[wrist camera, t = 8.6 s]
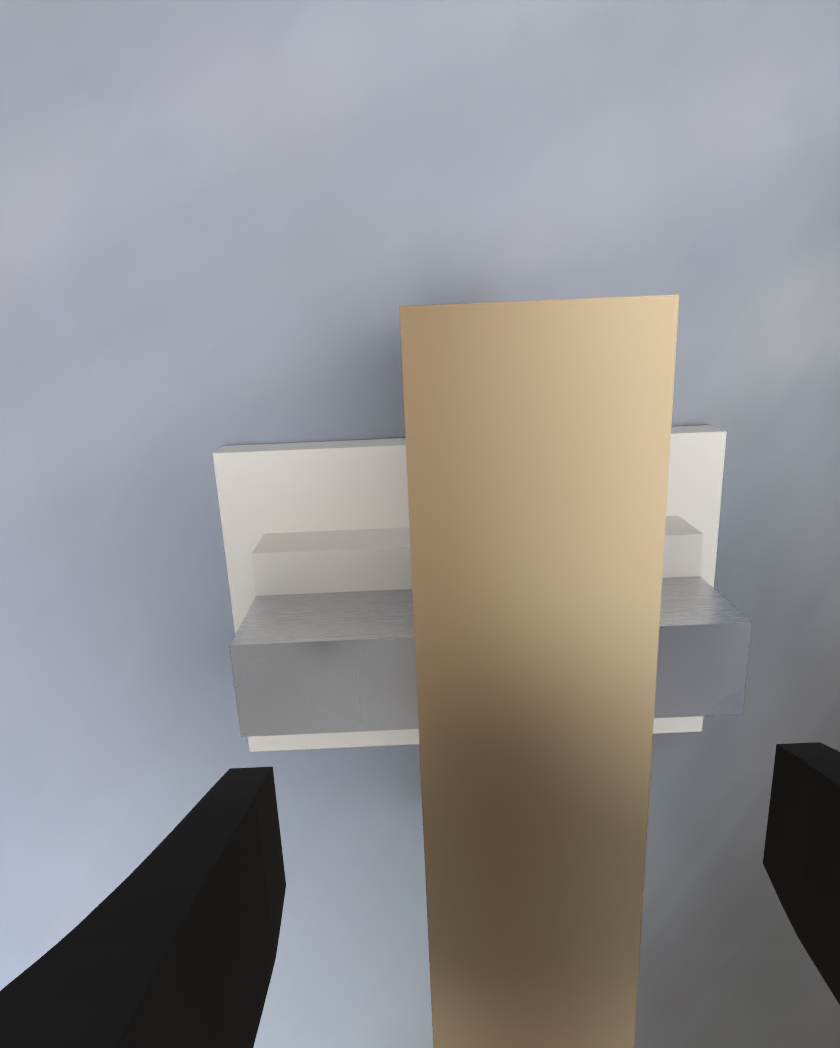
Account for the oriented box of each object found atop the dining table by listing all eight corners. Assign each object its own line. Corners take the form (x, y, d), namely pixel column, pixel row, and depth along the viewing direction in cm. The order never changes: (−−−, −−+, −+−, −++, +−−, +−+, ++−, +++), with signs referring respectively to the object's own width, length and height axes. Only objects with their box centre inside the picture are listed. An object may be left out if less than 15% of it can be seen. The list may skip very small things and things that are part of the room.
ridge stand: (708, 424, 18) (822, 466, 13) (687, 711, 20) (777, 837, 15) (223, 446, 17) (154, 494, 13) (257, 730, 20) (209, 863, 15)
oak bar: (569, 303, 12) (680, 294, 7) (557, 959, 16) (621, 1239, 11) (402, 310, 12) (398, 306, 7) (432, 965, 16) (442, 1248, 11)
